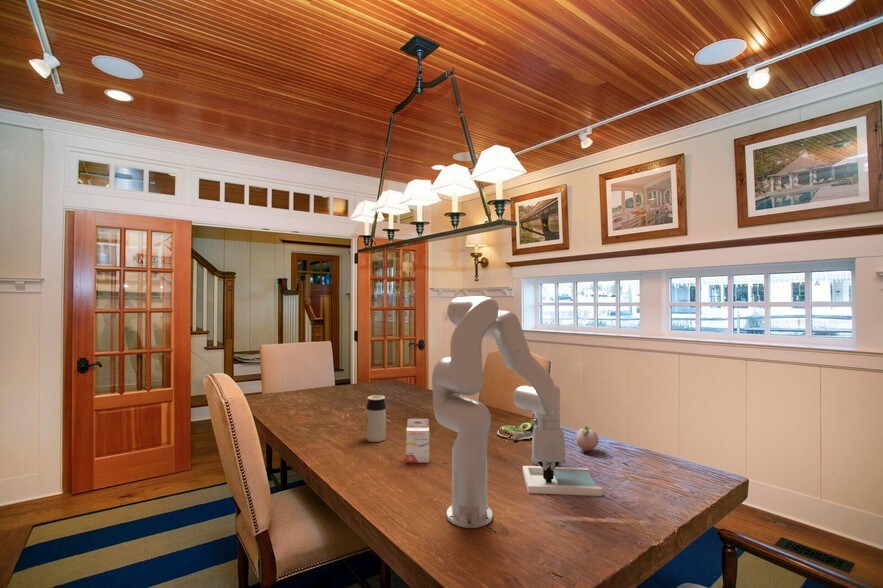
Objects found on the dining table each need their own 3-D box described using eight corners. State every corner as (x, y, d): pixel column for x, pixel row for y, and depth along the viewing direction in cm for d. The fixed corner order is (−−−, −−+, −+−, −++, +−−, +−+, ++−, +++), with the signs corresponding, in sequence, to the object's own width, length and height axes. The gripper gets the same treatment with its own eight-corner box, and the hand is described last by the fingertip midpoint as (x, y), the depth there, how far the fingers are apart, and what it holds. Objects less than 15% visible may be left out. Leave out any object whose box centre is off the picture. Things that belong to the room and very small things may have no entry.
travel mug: (387, 436, 184) (387, 395, 185) (383, 442, 176) (383, 399, 177) (369, 436, 185) (369, 394, 186) (364, 442, 177) (364, 398, 178)
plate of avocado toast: (532, 445, 174) (532, 434, 174) (491, 440, 182) (491, 429, 182) (542, 432, 192) (542, 422, 192) (503, 428, 199) (503, 418, 199)
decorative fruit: (598, 457, 161) (598, 430, 161) (576, 454, 163) (575, 428, 164) (598, 448, 170) (597, 423, 170) (576, 446, 172) (576, 421, 172)
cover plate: (598, 492, 128) (598, 487, 128) (561, 491, 129) (561, 485, 129) (588, 476, 140) (587, 471, 140) (554, 475, 141) (554, 470, 141)
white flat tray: (602, 499, 126) (601, 488, 126) (528, 496, 128) (528, 486, 128) (587, 476, 142) (587, 467, 142) (522, 474, 144) (522, 465, 144)
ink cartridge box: (405, 462, 154) (405, 422, 155) (406, 457, 159) (406, 418, 160) (429, 462, 155) (429, 422, 155) (429, 457, 160) (429, 418, 160)
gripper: (525, 426, 133) (525, 485, 132) (574, 427, 131) (574, 487, 131) (523, 419, 140) (523, 475, 140) (569, 420, 139) (569, 477, 139)
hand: (548, 481), depth 135 cm, fingers closed
